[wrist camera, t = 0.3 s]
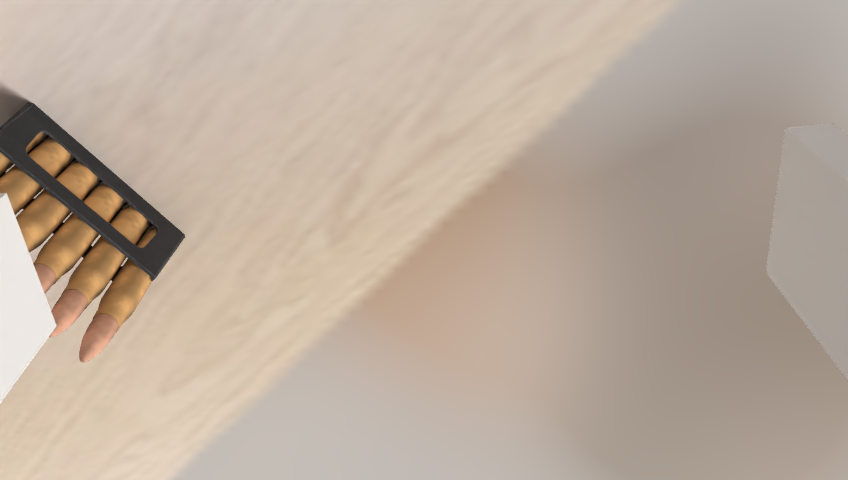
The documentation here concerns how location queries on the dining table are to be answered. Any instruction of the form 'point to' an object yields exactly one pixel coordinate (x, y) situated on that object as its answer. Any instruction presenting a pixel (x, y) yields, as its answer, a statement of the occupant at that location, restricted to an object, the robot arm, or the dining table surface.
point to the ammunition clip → (81, 225)
